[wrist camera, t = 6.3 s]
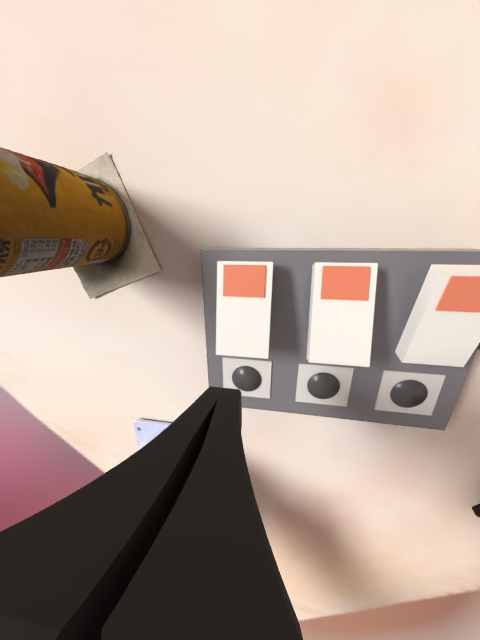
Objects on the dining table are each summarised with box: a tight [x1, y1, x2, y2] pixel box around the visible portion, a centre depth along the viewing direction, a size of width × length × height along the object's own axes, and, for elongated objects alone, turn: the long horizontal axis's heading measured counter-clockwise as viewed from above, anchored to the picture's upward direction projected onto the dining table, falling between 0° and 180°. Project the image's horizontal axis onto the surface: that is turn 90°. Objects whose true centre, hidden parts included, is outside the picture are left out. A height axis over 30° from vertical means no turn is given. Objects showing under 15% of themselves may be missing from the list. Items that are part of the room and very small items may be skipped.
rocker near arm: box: [216, 261, 273, 359], centre depth 14 cm, size 6×3×1 cm, turn 0°
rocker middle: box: [307, 262, 378, 367], centre depth 13 cm, size 6×3×1 cm, turn 0°
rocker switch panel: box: [201, 248, 480, 430], centre depth 16 cm, size 12×26×3 cm, turn 90°
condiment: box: [0, 148, 161, 299], centre depth 12 cm, size 7×8×12 cm
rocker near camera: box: [395, 264, 480, 367], centre depth 12 cm, size 6×3×1 cm, turn 0°
